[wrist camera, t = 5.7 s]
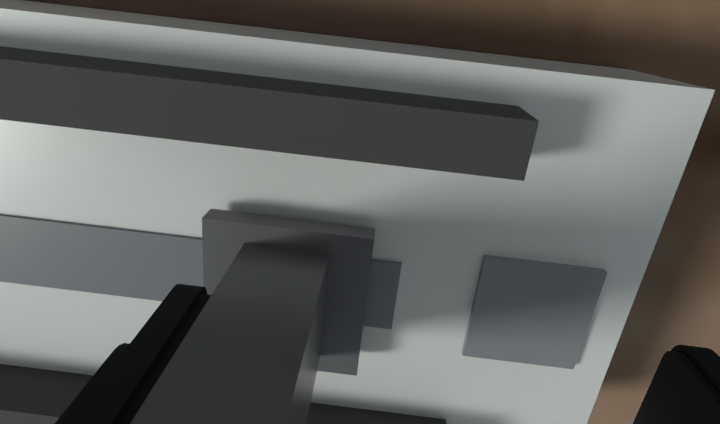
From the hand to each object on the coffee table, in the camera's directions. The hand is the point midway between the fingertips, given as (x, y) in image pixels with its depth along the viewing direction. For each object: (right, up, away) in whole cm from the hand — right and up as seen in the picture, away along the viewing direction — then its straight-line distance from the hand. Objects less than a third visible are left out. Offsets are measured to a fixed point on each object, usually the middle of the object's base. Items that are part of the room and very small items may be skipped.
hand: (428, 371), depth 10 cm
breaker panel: (-7, +4, +6) cm, 10 cm away
